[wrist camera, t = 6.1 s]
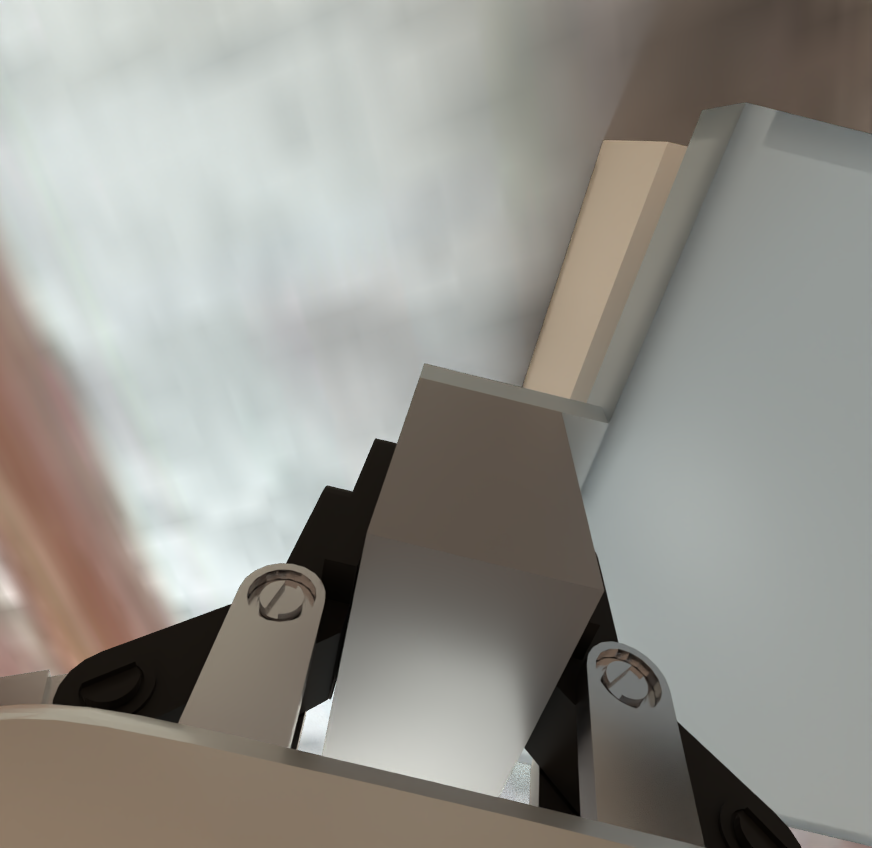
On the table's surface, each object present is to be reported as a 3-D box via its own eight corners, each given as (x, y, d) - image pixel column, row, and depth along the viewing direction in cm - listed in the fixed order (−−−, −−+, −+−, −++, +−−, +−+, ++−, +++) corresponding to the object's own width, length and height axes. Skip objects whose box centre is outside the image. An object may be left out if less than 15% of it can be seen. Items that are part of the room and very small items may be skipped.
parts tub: (884, 559, 29) (1028, 716, 21) (495, 467, 29) (496, 591, 21) (1129, 272, 22) (1494, 349, 14) (603, 139, 21) (668, 141, 13)
